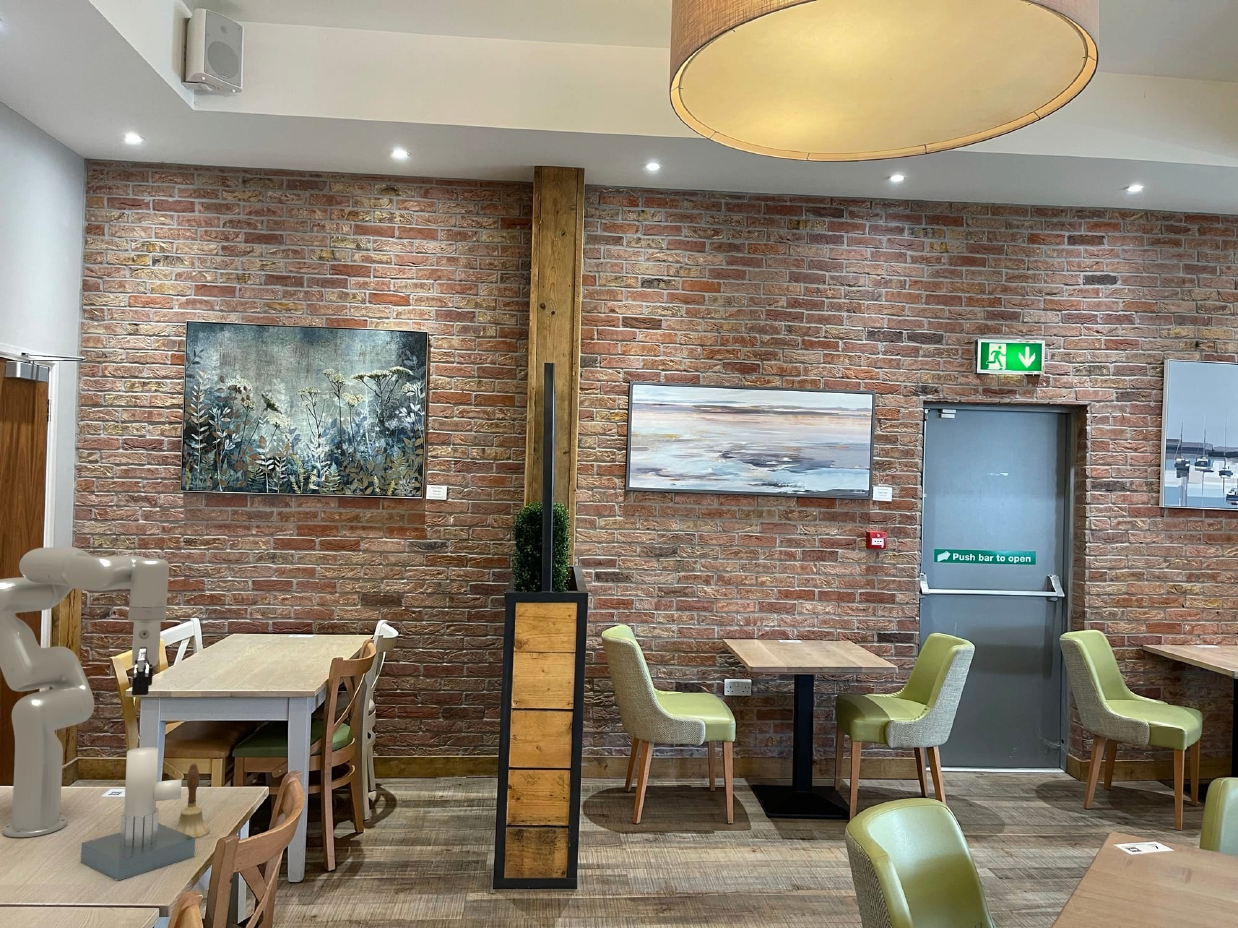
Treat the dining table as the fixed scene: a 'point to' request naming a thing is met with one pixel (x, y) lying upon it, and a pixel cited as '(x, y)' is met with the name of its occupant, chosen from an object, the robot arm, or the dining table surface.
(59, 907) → the dining table surface
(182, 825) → the hand bell
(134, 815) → the white tall branched piece
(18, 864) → the dining table surface
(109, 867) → the vent box
